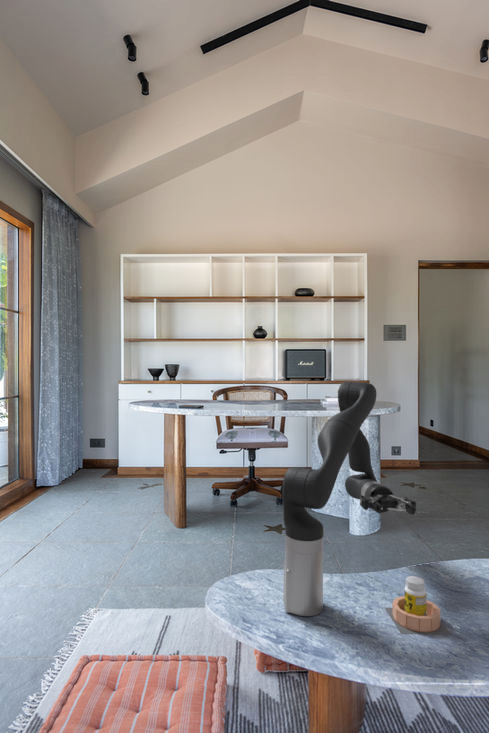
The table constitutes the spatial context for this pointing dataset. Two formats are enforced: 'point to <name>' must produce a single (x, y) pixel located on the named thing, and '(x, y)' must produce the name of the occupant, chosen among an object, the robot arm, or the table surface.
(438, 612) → the bowl
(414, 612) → the supplement bottle
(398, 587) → the table surface
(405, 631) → the mat
